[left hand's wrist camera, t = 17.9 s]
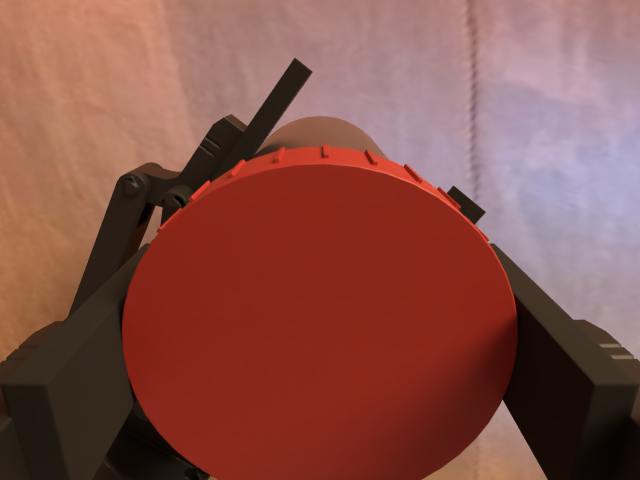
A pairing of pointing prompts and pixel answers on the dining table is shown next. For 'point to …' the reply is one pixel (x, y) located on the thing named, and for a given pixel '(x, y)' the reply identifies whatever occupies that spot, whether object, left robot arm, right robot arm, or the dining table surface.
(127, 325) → the lid
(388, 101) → the dining table surface
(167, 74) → the dining table surface
